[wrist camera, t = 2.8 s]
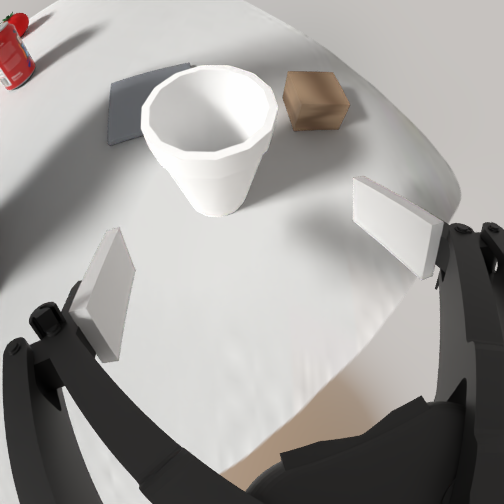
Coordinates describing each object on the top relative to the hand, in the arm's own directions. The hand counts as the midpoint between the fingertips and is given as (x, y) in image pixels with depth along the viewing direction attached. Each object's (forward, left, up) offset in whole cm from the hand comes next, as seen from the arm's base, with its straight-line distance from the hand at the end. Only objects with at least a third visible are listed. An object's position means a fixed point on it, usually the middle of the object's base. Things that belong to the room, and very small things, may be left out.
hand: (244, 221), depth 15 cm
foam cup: (-3, +8, -13) cm, 16 cm away
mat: (-14, +21, -13) cm, 29 cm away
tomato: (-72, +58, -13) cm, 94 cm away
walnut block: (+7, +21, -13) cm, 26 cm away
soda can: (-49, +33, -13) cm, 61 cm away
